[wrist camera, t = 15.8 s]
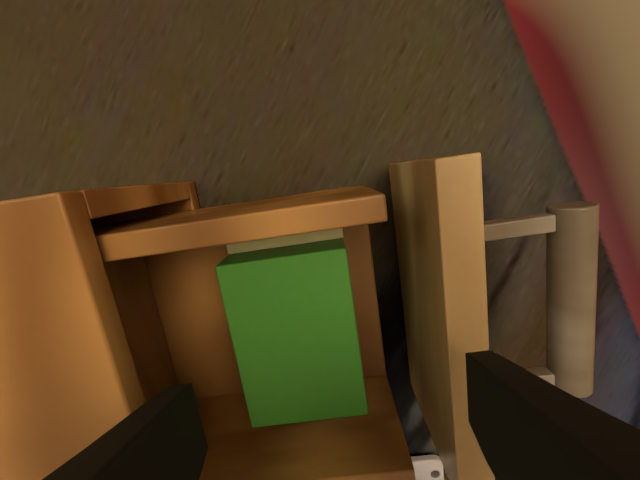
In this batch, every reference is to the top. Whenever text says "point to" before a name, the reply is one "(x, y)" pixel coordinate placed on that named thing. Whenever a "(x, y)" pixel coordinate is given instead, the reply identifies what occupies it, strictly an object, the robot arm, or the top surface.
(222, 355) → the drawer
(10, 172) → the top surface
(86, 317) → the cabinet
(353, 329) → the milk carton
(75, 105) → the top surface
